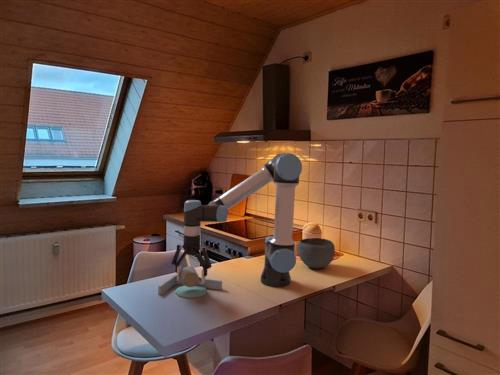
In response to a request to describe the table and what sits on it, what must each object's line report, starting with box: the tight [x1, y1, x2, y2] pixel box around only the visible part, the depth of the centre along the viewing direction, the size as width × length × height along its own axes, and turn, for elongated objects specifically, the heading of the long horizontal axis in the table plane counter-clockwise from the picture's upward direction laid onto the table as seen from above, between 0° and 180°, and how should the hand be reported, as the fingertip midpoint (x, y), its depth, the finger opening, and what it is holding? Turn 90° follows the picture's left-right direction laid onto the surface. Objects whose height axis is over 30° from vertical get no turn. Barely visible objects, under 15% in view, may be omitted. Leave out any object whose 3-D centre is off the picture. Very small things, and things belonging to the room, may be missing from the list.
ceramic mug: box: [180, 265, 203, 287], centre depth 173 cm, size 11×8×8 cm
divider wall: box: [174, 274, 223, 291], centre depth 181 cm, size 24×1×4 cm, turn 75°
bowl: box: [297, 237, 336, 270], centre depth 216 cm, size 21×21×15 cm
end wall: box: [157, 274, 177, 296], centre depth 176 cm, size 1×15×4 cm, turn 165°
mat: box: [175, 285, 207, 299], centre depth 173 cm, size 14×14×1 cm
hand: (191, 281), depth 173 cm, fingers closed on ceramic mug, 11 cm apart
